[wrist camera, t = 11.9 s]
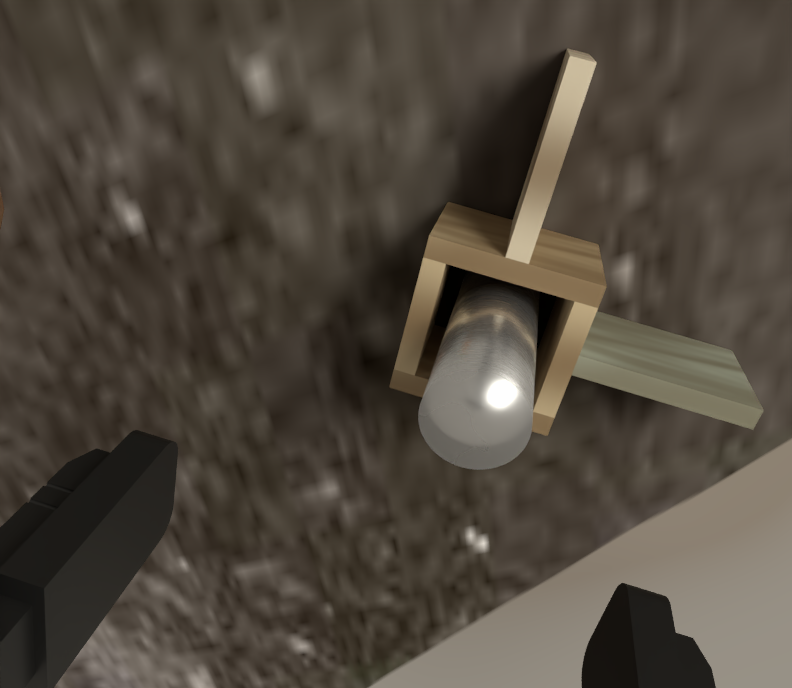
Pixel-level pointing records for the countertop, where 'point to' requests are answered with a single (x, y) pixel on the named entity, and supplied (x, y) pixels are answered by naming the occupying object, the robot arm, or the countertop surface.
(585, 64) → the hinge
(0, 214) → the chopping board
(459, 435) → the hinge pin
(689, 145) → the countertop surface
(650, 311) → the countertop surface
